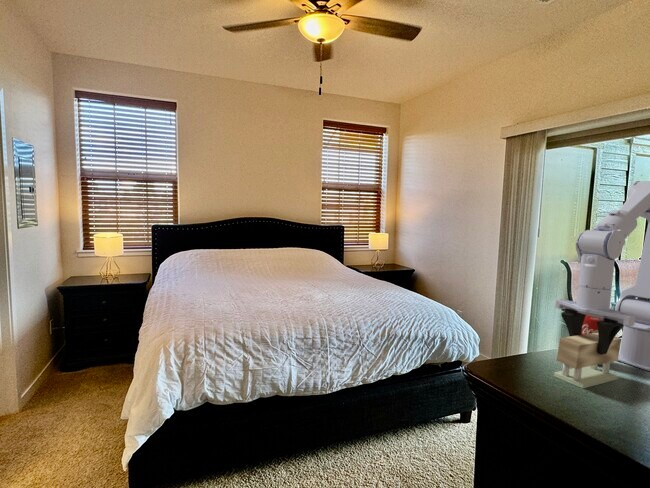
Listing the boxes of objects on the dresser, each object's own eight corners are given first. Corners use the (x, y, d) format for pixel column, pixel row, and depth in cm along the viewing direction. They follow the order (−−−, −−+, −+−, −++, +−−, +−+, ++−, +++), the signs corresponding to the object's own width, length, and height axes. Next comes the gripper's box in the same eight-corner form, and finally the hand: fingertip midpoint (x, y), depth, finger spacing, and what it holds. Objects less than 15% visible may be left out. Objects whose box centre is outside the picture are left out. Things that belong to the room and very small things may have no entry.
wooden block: (598, 353, 83) (601, 332, 82) (617, 360, 79) (621, 338, 78) (556, 360, 77) (560, 337, 77) (575, 368, 74) (579, 345, 73)
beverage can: (577, 362, 87) (582, 313, 86) (574, 353, 93) (578, 307, 92) (610, 368, 84) (616, 317, 83) (604, 359, 90) (609, 311, 89)
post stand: (587, 368, 84) (589, 352, 83) (617, 379, 78) (618, 362, 78) (553, 375, 79) (555, 359, 78) (582, 388, 73) (584, 370, 73)
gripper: (549, 281, 82) (543, 339, 83) (623, 295, 69) (615, 364, 70) (568, 280, 85) (563, 336, 86) (643, 293, 72) (636, 359, 73)
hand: (588, 349), depth 78 cm, fingers open, 5 cm apart
